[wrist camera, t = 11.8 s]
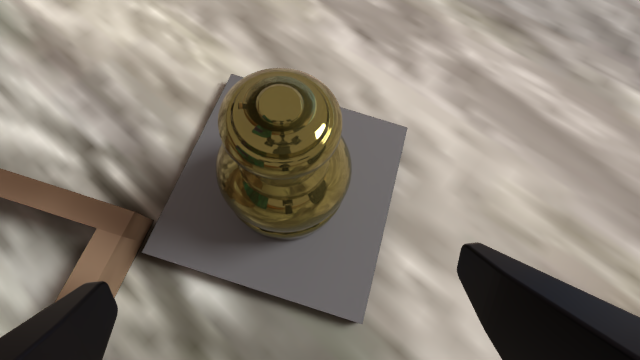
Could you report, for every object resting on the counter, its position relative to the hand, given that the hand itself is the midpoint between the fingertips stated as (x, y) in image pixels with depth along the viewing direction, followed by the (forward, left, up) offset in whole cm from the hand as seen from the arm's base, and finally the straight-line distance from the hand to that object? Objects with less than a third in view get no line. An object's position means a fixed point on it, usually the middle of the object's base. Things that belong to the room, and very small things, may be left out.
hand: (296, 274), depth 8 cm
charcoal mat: (+6, +2, -12) cm, 14 cm away
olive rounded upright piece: (+6, +2, -12) cm, 13 cm away
